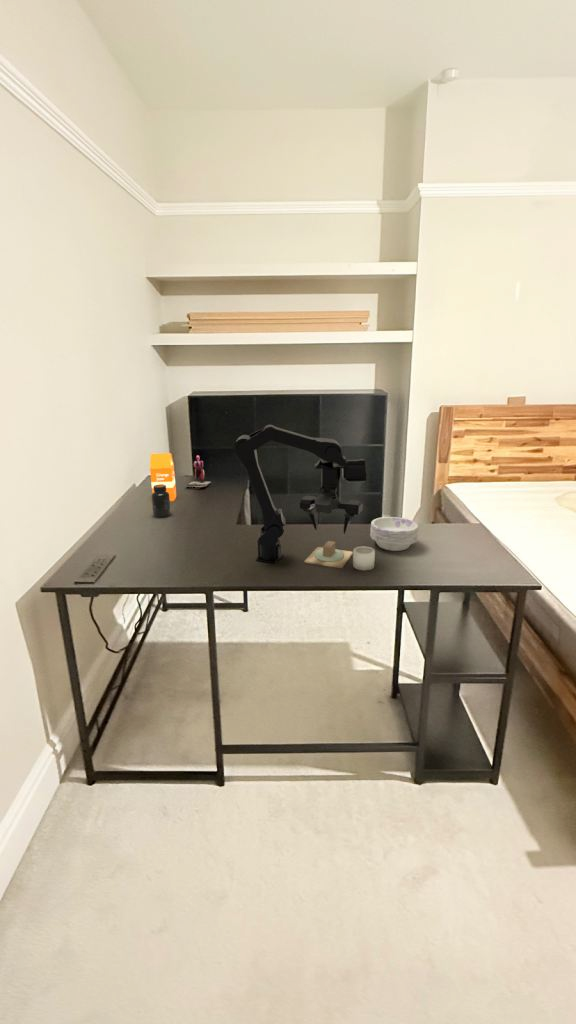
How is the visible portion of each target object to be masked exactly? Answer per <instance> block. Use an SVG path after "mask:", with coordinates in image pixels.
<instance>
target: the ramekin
mask: <svg viewBox="0 0 576 1024" xmlns="http://www.w3.org/2000/svg"><path fill="white" fill-rule="evenodd" d="M352 552H353V554H352V567H353V568H354V569H356V570H358V571H369V570H371V571H372V570H373V569H374V568H375V559H376V557H375V556H376V550H375V548H373V547H370V546H365V545H364V546H356V547H354V548H353V551H352Z"/></svg>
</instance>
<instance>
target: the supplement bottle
mask: <svg viewBox="0 0 576 1024" xmlns="http://www.w3.org/2000/svg"><path fill="white" fill-rule="evenodd" d="M153 488H154V492H153V493H151V503H152V505H151V507H152V515H153V516H154V518H162V519H163V518H167V517H170V516H171V515H172V510H171V501H170V496H169V493H168V492H167V491H166V490H167V489H166V485H164V484H158V485H154V486H153Z"/></svg>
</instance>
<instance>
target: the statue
mask: <svg viewBox="0 0 576 1024" xmlns="http://www.w3.org/2000/svg"><path fill="white" fill-rule="evenodd" d="M195 458H196V460H195V461H193V467H194V468H195V469H194V476H195V480H200V481H191V482H190V483H188V484H187V485H186V486H185V488H187V487H190V489H191V490H193V489H196V490H200V489H201V488H204V487H205V488H206V487H207V486H208V485H211V481H204V480H205V470H204V468H203V467H204V461H203V460H200V455H196V457H195ZM191 487H192V488H191ZM193 487H195V488H193Z"/></svg>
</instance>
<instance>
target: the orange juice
mask: <svg viewBox="0 0 576 1024" xmlns="http://www.w3.org/2000/svg"><path fill="white" fill-rule="evenodd" d="M149 467H150V468H149V472H150V473H149V474H150V481H151V491H152V493H153V492H154V488H153V486H154V485H158V484H164V485H166V489H167V490H166V491H167V492H168V493H169V496H170V502H174V501H175V500H176V498H177V488H176V478H175V477H176V474H175V464H174V460H173V456H172V453H171V452H164V453H163V452H162V453H160V452H159V453H150V460H149ZM152 493H151V494H152Z"/></svg>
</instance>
